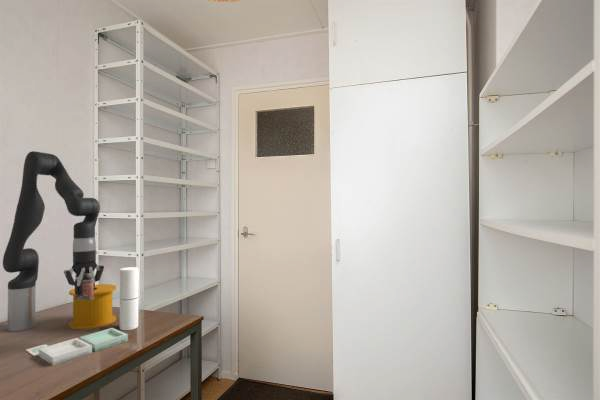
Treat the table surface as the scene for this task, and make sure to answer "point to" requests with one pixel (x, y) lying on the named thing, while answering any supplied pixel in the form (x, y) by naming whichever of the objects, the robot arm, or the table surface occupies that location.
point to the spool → (93, 309)
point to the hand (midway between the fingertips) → (84, 294)
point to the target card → (35, 350)
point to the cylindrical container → (129, 298)
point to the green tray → (105, 338)
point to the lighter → (86, 288)
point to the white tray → (65, 351)
